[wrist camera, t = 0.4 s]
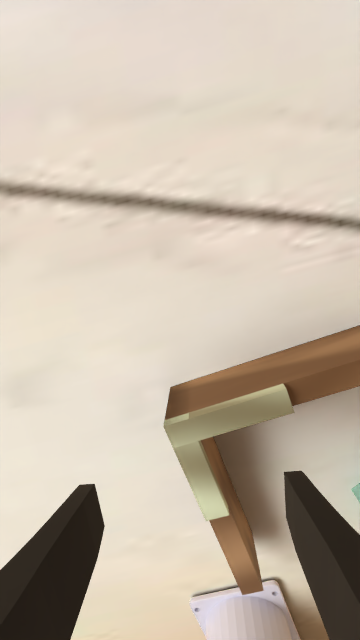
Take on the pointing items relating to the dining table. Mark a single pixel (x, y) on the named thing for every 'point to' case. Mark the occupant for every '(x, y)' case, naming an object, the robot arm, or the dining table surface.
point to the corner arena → (245, 410)
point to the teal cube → (357, 491)
